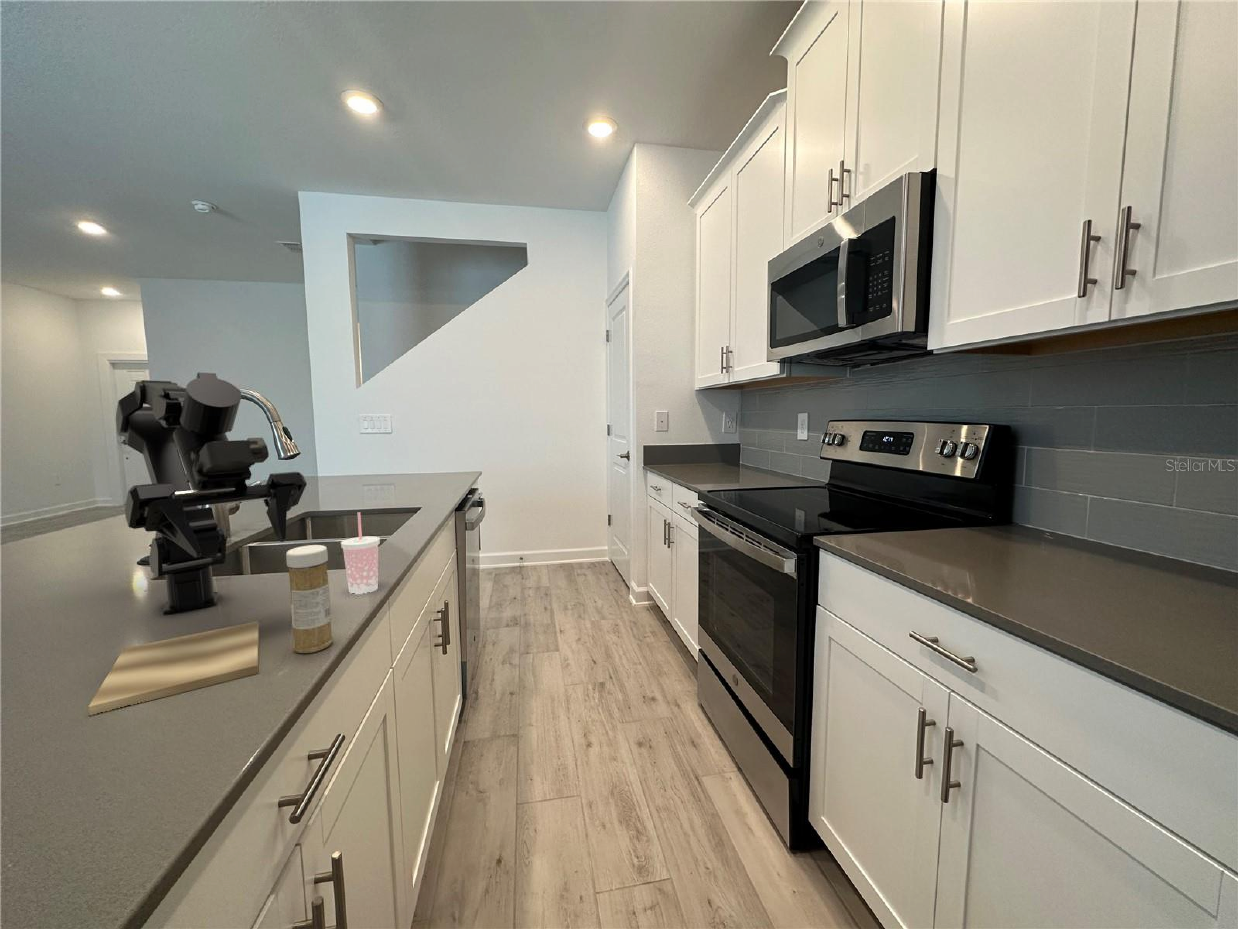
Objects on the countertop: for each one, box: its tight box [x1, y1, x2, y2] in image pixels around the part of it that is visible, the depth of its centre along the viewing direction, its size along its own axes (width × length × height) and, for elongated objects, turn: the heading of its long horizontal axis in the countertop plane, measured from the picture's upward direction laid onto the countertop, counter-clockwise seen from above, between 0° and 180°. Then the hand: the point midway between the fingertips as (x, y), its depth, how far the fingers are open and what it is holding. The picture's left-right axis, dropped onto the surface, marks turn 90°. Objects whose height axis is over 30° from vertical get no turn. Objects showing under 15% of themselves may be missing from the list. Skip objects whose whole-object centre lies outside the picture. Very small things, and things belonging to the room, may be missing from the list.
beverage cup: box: [340, 511, 381, 595], centre depth 86 cm, size 6×6×14 cm
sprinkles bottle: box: [285, 544, 334, 654], centre depth 65 cm, size 5×5×14 cm
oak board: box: [88, 620, 260, 716], centre depth 61 cm, size 16×14×1 cm
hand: (243, 547), depth 64 cm, fingers open, 9 cm apart
